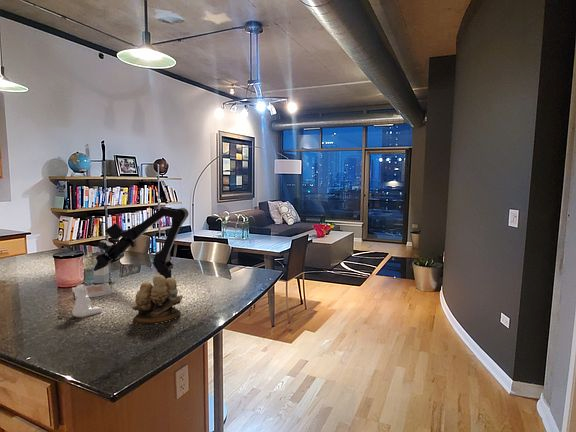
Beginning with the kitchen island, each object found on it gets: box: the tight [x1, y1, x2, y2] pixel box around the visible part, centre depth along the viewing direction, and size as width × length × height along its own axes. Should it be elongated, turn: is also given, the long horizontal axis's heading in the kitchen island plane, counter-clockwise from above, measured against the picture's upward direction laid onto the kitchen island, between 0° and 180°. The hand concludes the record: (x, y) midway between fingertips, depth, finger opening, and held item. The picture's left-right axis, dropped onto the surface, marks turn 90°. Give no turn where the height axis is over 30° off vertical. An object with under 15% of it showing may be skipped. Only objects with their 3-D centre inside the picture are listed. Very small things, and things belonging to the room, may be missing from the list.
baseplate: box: [74, 282, 112, 300], centre depth 161 cm, size 14×14×2 cm
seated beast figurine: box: [71, 283, 103, 318], centre depth 134 cm, size 10×9×12 cm
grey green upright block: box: [92, 257, 110, 284], centre depth 176 cm, size 5×5×12 cm
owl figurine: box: [131, 274, 183, 325], centre depth 133 cm, size 18×12×17 cm, turn 120°
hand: (99, 267), depth 176 cm, fingers open, 9 cm apart
